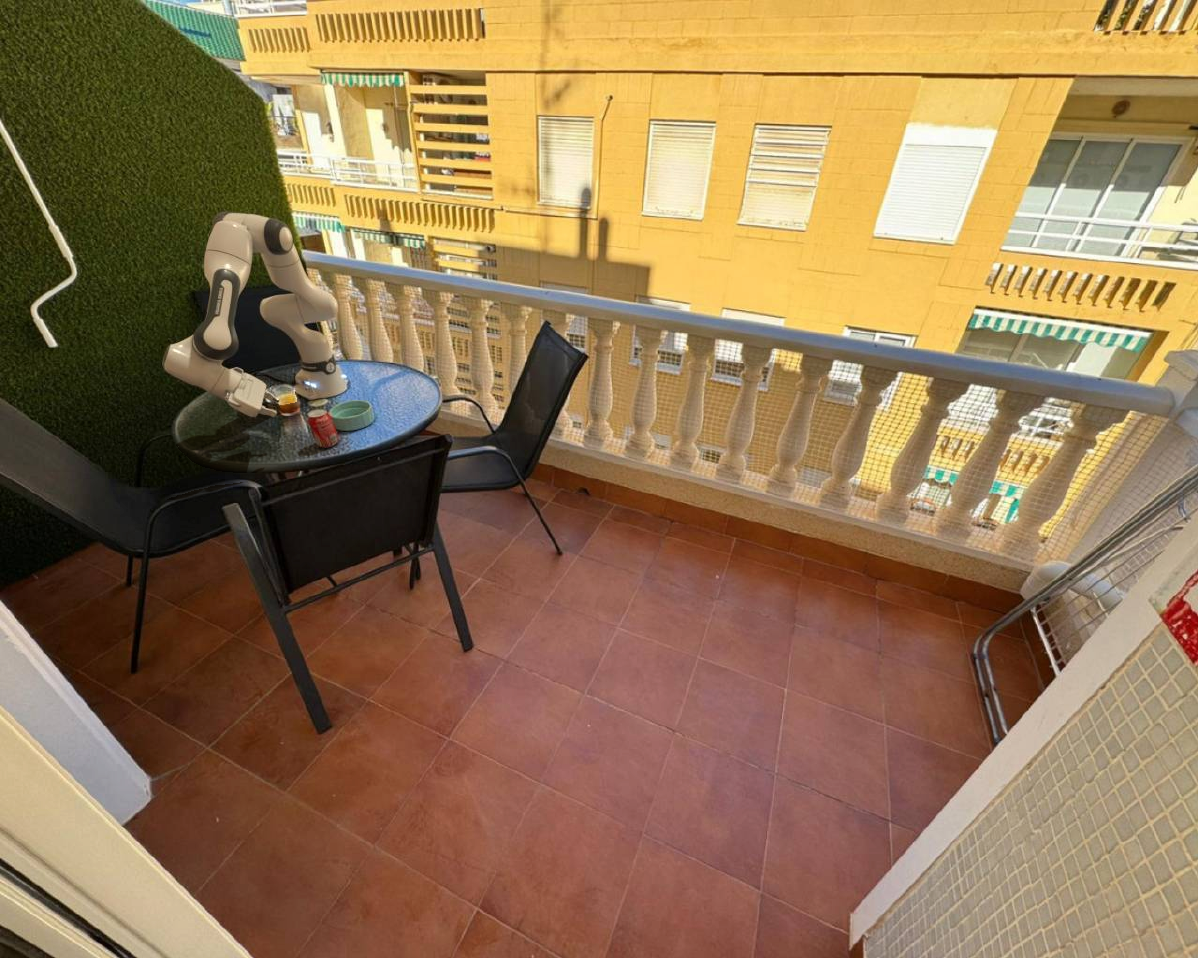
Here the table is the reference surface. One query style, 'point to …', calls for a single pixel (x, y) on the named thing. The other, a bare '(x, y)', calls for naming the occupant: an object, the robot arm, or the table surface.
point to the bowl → (352, 415)
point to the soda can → (322, 428)
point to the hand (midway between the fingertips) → (277, 408)
